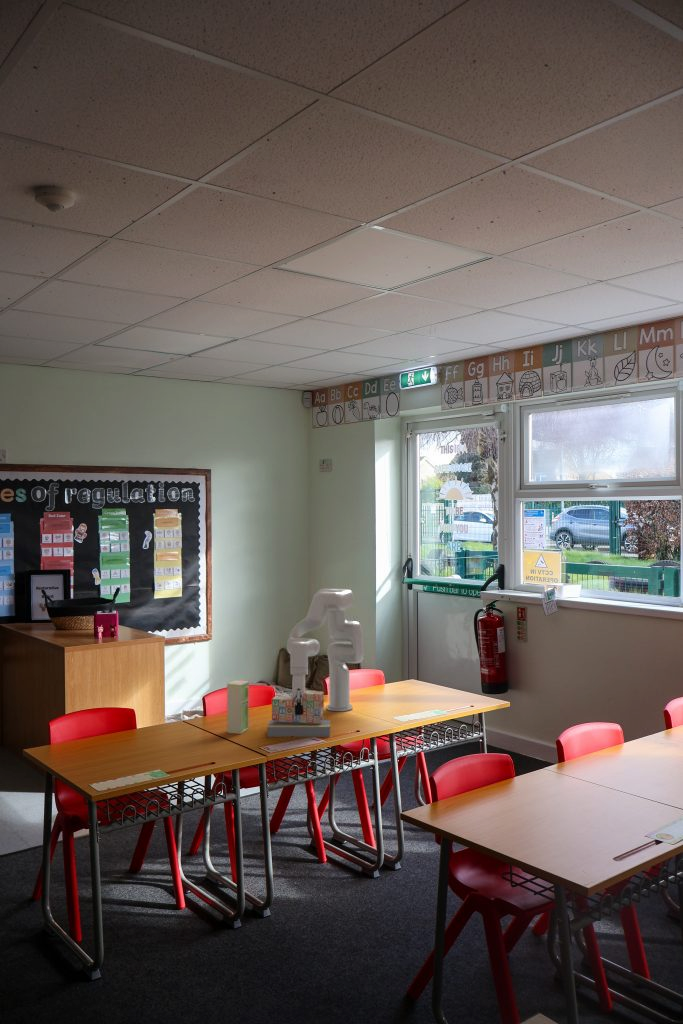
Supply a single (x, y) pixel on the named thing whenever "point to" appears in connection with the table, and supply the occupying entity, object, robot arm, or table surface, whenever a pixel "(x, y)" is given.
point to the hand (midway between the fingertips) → (299, 712)
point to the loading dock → (298, 729)
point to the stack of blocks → (311, 708)
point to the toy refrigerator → (237, 706)
